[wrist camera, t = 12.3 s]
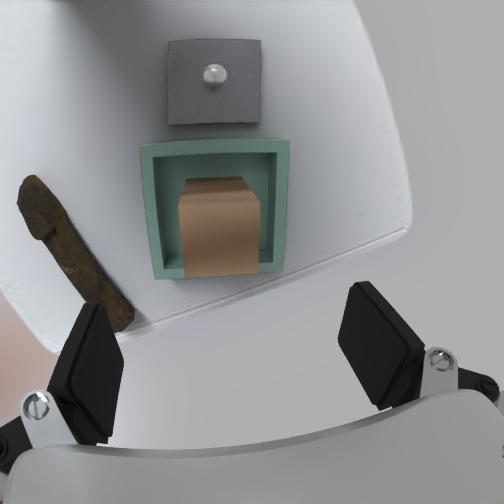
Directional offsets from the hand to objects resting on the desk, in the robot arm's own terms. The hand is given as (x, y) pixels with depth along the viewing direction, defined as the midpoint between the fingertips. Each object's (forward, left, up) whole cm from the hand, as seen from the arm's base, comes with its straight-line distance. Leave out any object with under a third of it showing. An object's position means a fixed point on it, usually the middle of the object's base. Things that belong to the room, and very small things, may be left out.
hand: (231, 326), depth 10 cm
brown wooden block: (0, 0, -18) cm, 18 cm away
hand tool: (+4, -15, -19) cm, 25 cm away
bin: (0, 0, -18) cm, 18 cm away
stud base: (-11, 0, -18) cm, 21 cm away
